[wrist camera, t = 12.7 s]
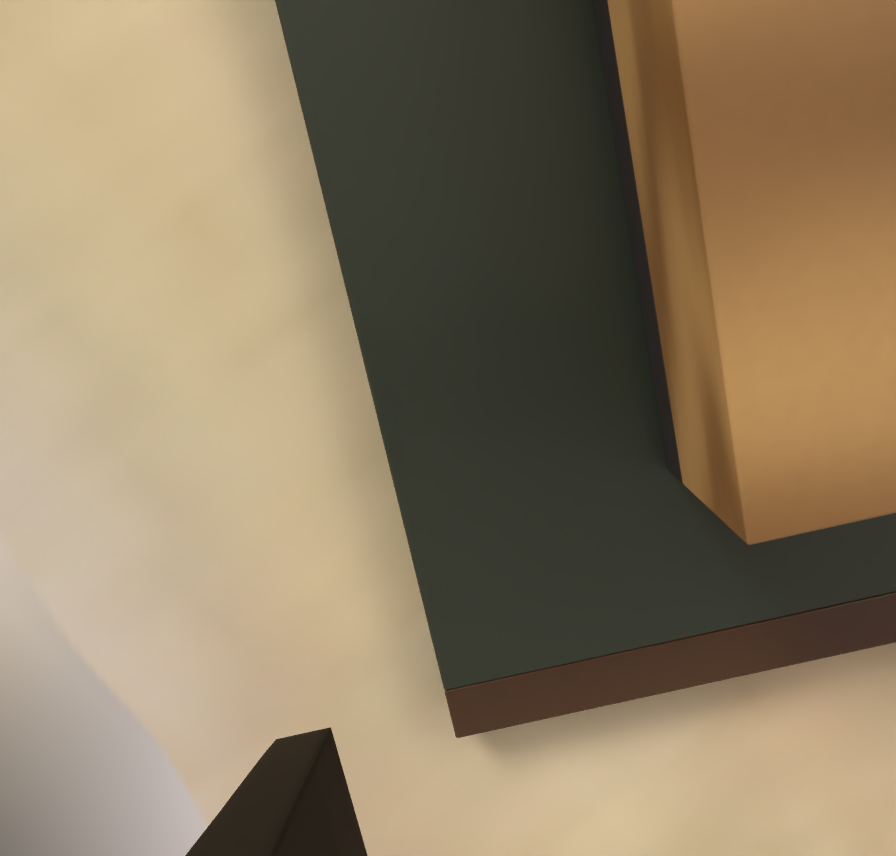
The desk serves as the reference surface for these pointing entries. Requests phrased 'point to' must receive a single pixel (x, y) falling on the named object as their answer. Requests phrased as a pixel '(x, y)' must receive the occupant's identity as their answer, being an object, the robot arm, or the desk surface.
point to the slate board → (537, 374)
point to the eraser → (764, 247)
